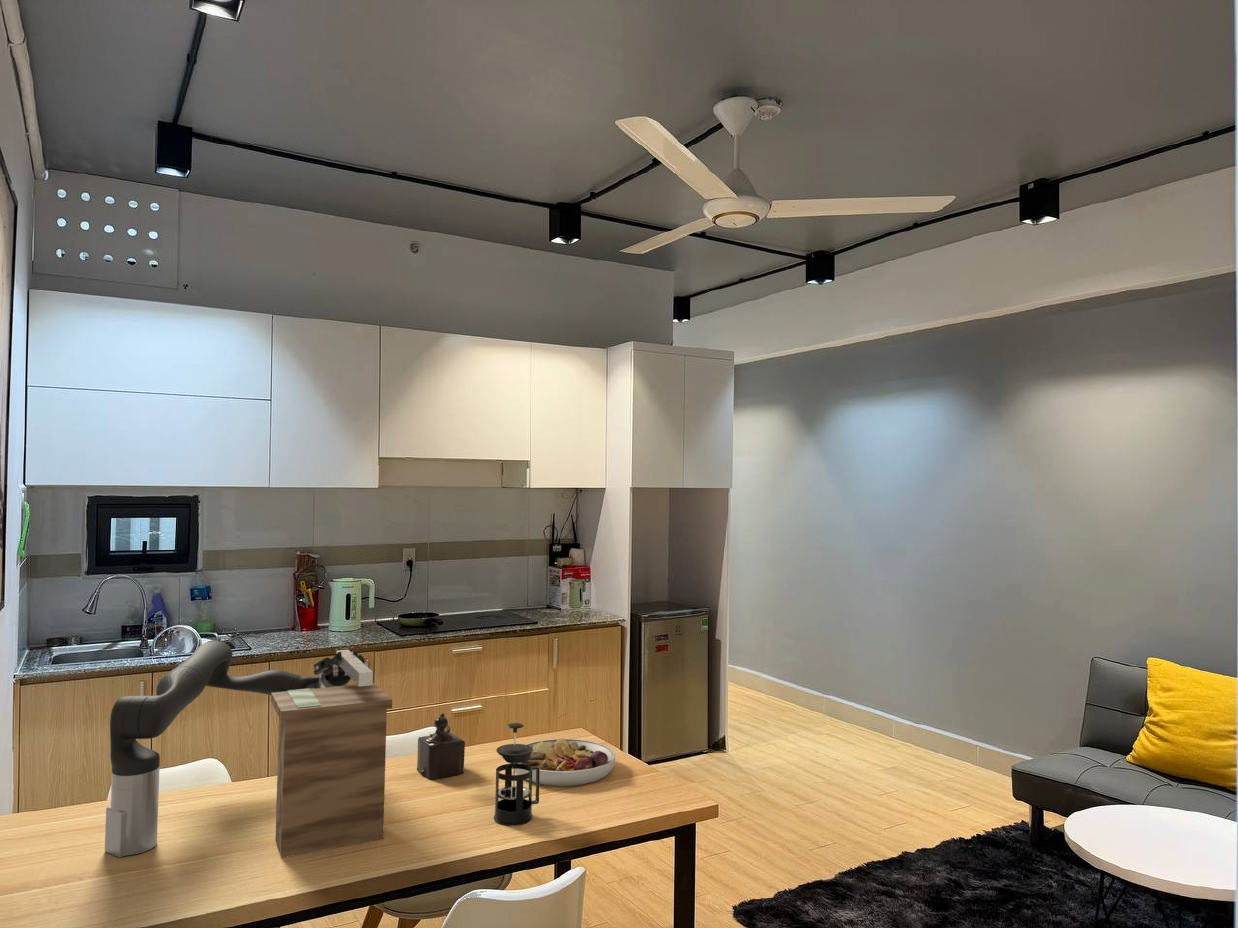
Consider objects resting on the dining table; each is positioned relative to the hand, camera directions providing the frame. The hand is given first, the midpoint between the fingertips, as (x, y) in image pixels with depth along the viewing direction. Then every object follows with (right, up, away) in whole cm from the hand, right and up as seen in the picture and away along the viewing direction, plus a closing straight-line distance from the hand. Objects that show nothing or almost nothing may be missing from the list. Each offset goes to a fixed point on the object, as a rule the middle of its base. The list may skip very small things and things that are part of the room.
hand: (347, 654), depth 208 cm
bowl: (+52, -41, +32) cm, 74 cm away
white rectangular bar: (+4, -3, -7) cm, 8 cm away
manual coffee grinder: (+18, -40, +27) cm, 52 cm away
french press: (+42, -40, -3) cm, 58 cm away
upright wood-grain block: (0, -38, -15) cm, 41 cm away
